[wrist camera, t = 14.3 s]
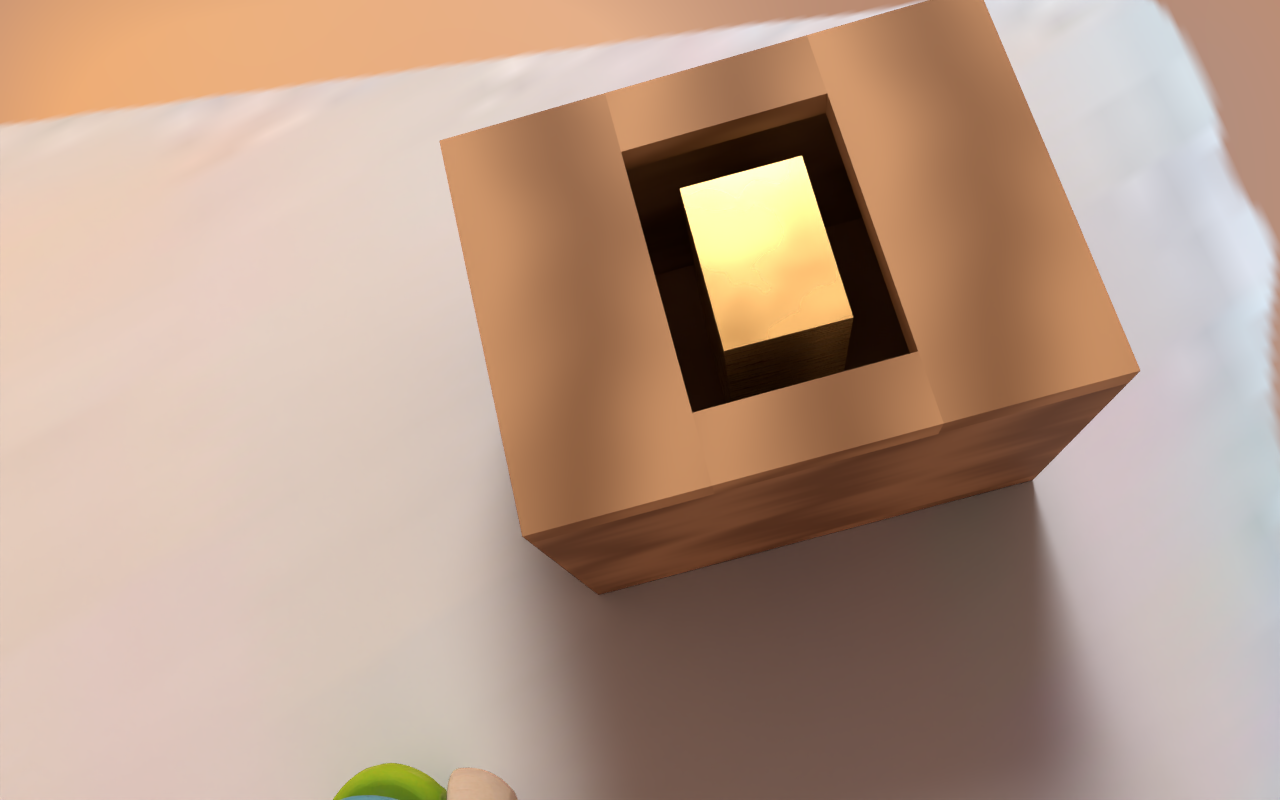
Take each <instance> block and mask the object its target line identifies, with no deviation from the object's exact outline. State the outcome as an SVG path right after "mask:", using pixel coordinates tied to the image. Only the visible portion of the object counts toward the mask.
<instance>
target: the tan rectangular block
mask: <svg viewBox="0 0 1280 800" xmlns="http://www.w3.org/2000/svg"><path fill="white" fill-rule="evenodd" d="M680 192H681V198H682V203H683V209H684V214H685V219H686V225H687V230H688V236H689V241H690V246H691V252H692V257H693V262H694V268H695V273H696V279H697V284H698V289H699V295H700V300H701V306H702V311H703V316H704V322H705V327H706V332H707V335H708V339H709V343H710V347H711V350H712V354H713V358H714V361H715V365H716V369H717V373H718V376H719V380H720V384H721V388H722V391H723V395H724V399H725V402H726V403H730V402H734V401H737V400H741V399H745V398H748V397H752V396H756V395H759V394H763V393H767V392H770V391H774V390H778V389H781V388H785V387H789V386H792V385H796V384H800V383H803V382H807V381H811V380H814V379H818V378H822V377H825V376H829V375H833V374H836V373H840V372H844V368H845V363H846V357H847V351H848V345H849V339H850V334H851V328H852V322H853V315H852V312H851V309H850V305H849V302H848V299H847V296H846V293H845V290H844V287H843V283H842V280H841V277H840V274H839V271H838V268H837V265H836V261H835V258H834V255H833V252H832V249H831V246H830V243H829V239H828V236H827V233H826V230H825V227H824V224H823V221H822V217H821V214H820V211H819V208H818V205H817V202H816V199H815V195H814V192H813V189H812V186H811V183H810V180H809V177H808V173H807V170H806V167H805V164H804V161H803V158H802V156H799V157H796V158H792V159H788V160H784V161H781V162H777V163H773V164H770V165H766V166H762V167H758V168H755V169H751V170H747V171H743V172H740V173H736V174H732V175H728V176H725V177H721V178H717V179H714V180H710V181H706V182H702V183H699V184H695V185H691V186H687V187H684V188H680Z"/></svg>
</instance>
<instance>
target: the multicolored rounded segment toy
mask: <svg viewBox="0 0 1280 800" xmlns="http://www.w3.org/2000/svg"><path fill="white" fill-rule="evenodd" d="M333 800H518V799H517V796H516V794H515V792H514V791H513V790H512V788H511V787H510V786H509V785H508V784H507V783H506V782H504V781H503V780H502V779H501V778H499V777H498V776H496V775H494V774H492V773H490V772H488V771H485V770H482V769H476V768H459V769H456V770H454V771H453V772H452V774H451V776H450V779H449V782H448V788H447V791H446V789H444V788H443V787H442V786H440V785H439V784H438V783H437V782H436V781H435V780H434V779H432V778H431V777H430V776H428V775H427V774H425V773H423V772H421V771H419V770H417V769H415V768H412V767H410V766H406V765H402V764H397V763H387V764H381V765H377V766H373V767H370V768H367V769H365V770H363V771H361V772H359V773H358V774H356V775H355V776H354V777H353V778H352V779H350V780H349V781H348V782H347V783H346V784H345V785H344V786H343V787H342V788H341V789H340V791H339V792H338V793H337V795H336V796H335V797H334V799H333Z"/></svg>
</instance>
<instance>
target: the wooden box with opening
mask: <svg viewBox="0 0 1280 800" xmlns="http://www.w3.org/2000/svg"><path fill="white" fill-rule="evenodd" d="M440 146H441V150H442V155H443V160H444V165H445V169H446V174H447V179H448V184H449V189H450V193H451V198H452V203H453V208H454V212H455V217H456V222H457V227H458V231H459V236H460V241H461V246H462V251H463V255H464V260H465V265H466V270H467V274H468V279H469V284H470V289H471V293H472V298H473V303H474V308H475V313H476V317H477V322H478V327H479V332H480V336H481V341H482V346H483V351H484V355H485V360H486V365H487V370H488V375H489V379H490V384H491V389H492V394H493V398H494V403H495V408H496V413H497V417H498V422H499V427H500V432H501V437H502V441H503V446H504V451H505V456H506V460H507V465H508V470H509V475H510V479H511V484H512V489H513V494H514V499H515V503H516V508H517V513H518V518H519V522H520V527H521V532H522V537H524V538H525V539H526V540H528V541H529V542H530V543H531V544H533V545H534V546H535V547H537V548H538V549H539V550H541V551H542V552H543V553H545V554H546V555H547V556H548V557H550V558H551V559H552V560H554V561H555V562H556V563H558V564H559V565H560V566H561V567H563V568H564V569H565V570H567V571H568V572H569V573H571V574H572V575H573V576H574V577H576V578H577V579H578V580H580V581H581V582H582V583H584V584H585V585H586V586H587V587H589V588H590V589H591V590H593V591H594V592H595V593H597V594H598V595H600V594H604V593H608V592H612V591H615V590H619V589H623V588H627V587H631V586H634V585H638V584H642V583H646V582H649V581H653V580H657V579H661V578H665V577H668V576H672V575H676V574H680V573H683V572H687V571H691V570H695V569H698V568H702V567H706V566H710V565H714V564H717V563H721V562H725V561H729V560H732V559H736V558H740V557H744V556H747V555H751V554H755V553H759V552H763V551H766V550H770V549H774V548H778V547H781V546H785V545H789V544H793V543H797V542H800V541H804V540H808V539H812V538H815V537H819V536H823V535H827V534H830V533H834V532H838V531H842V530H846V529H849V528H853V527H857V526H861V525H864V524H868V523H872V522H876V521H879V520H883V519H887V518H891V517H895V516H898V515H902V514H906V513H910V512H913V511H917V510H921V509H925V508H929V507H932V506H936V505H940V504H944V503H947V502H951V501H955V500H959V499H962V498H966V497H970V496H974V495H978V494H981V493H985V492H989V491H993V490H996V489H1000V488H1004V487H1008V486H1011V485H1015V484H1019V483H1023V482H1027V481H1030V480H1033V479H1034V478H1035V477H1036V476H1037V475H1038V474H1039V473H1040V472H1041V471H1042V470H1043V469H1044V468H1045V467H1046V466H1047V465H1048V464H1049V463H1050V462H1051V461H1052V460H1053V459H1054V458H1055V457H1056V456H1057V455H1058V454H1059V453H1060V452H1061V451H1062V450H1063V449H1064V448H1065V447H1066V446H1067V445H1068V444H1069V443H1070V442H1071V441H1072V440H1073V439H1074V438H1075V437H1076V436H1077V435H1078V433H1079V432H1080V431H1081V430H1082V429H1083V428H1084V427H1085V426H1086V425H1087V424H1088V423H1089V422H1090V421H1091V420H1092V419H1093V418H1094V417H1095V416H1096V415H1097V414H1098V413H1099V412H1100V411H1101V410H1102V409H1103V408H1104V407H1105V406H1106V405H1107V404H1108V403H1109V402H1110V401H1111V400H1112V399H1113V398H1114V397H1115V396H1116V395H1117V394H1118V393H1119V392H1120V391H1121V390H1122V389H1123V388H1124V387H1125V386H1126V385H1127V384H1128V383H1129V382H1130V381H1131V380H1132V379H1133V378H1134V377H1135V376H1136V375H1137V374H1138V373H1139V372H1140V368H1139V366H1138V364H1137V361H1136V359H1135V357H1134V354H1133V352H1132V350H1131V347H1130V345H1129V342H1128V340H1127V338H1126V335H1125V333H1124V331H1123V328H1122V326H1121V324H1120V321H1119V319H1118V316H1117V314H1116V312H1115V309H1114V307H1113V305H1112V302H1111V300H1110V298H1109V295H1108V293H1107V291H1106V288H1105V286H1104V283H1103V281H1102V279H1101V276H1100V274H1099V272H1098V269H1097V267H1096V265H1095V262H1094V260H1093V257H1092V255H1091V253H1090V250H1089V248H1088V246H1087V243H1086V241H1085V239H1084V236H1083V234H1082V231H1081V229H1080V227H1079V224H1078V222H1077V220H1076V217H1075V215H1074V213H1073V210H1072V208H1071V205H1070V203H1069V201H1068V198H1067V196H1066V194H1065V191H1064V189H1063V187H1062V184H1061V182H1060V179H1059V177H1058V175H1057V172H1056V170H1055V168H1054V165H1053V163H1052V161H1051V158H1050V156H1049V153H1048V151H1047V149H1046V146H1045V144H1044V142H1043V139H1042V137H1041V135H1040V132H1039V130H1038V127H1037V125H1036V123H1035V120H1034V118H1033V116H1032V113H1031V111H1030V109H1029V106H1028V104H1027V101H1026V99H1025V97H1024V94H1023V92H1022V90H1021V87H1020V85H1019V83H1018V80H1017V78H1016V75H1015V73H1014V71H1013V68H1012V66H1011V64H1010V61H1009V59H1008V57H1007V54H1006V52H1005V49H1004V47H1003V45H1002V42H1001V40H1000V38H999V35H998V33H997V31H996V28H995V26H994V23H993V21H992V19H991V16H990V14H989V12H988V9H987V7H986V5H985V2H984V0H928V1H925V2H921V3H918V4H914V5H911V6H908V7H904V8H901V9H897V10H894V11H890V12H887V13H883V14H880V15H876V16H873V17H869V18H866V19H862V20H859V21H855V22H852V23H848V24H845V25H841V26H838V27H834V28H831V29H827V30H824V31H820V32H817V33H813V34H810V35H806V36H803V37H799V38H796V39H792V40H789V41H785V42H782V43H779V44H775V45H772V46H768V47H765V48H761V49H758V50H754V51H751V52H747V53H744V54H740V55H737V56H733V57H730V58H726V59H723V60H719V61H716V62H712V63H709V64H705V65H702V66H698V67H695V68H691V69H688V70H684V71H681V72H677V73H674V74H670V75H667V76H663V77H660V78H656V79H653V80H650V81H646V82H643V83H639V84H636V85H632V86H629V87H625V88H622V89H618V90H615V91H611V92H608V93H604V94H601V95H597V96H594V97H590V98H587V99H583V100H580V101H576V102H573V103H569V104H566V105H562V106H559V107H555V108H552V109H548V110H545V111H541V112H538V113H534V114H531V115H527V116H524V117H521V118H517V119H514V120H510V121H507V122H503V123H500V124H496V125H493V126H489V127H486V128H482V129H479V130H475V131H472V132H468V133H465V134H461V135H458V136H454V137H451V138H447V139H444V140H440ZM799 156H802V158H803V161H804V164H805V167H806V170H807V173H808V177H809V180H810V183H811V186H812V189H813V192H814V195H815V199H816V202H817V205H818V208H819V211H820V214H821V217H822V221H823V224H824V227H825V230H826V233H827V236H828V239H829V243H830V246H831V249H832V252H833V255H834V258H835V261H836V265H837V268H838V271H839V274H840V277H841V280H842V283H843V287H844V290H845V293H846V296H847V299H848V302H849V305H850V309H851V312H852V315H853V322H852V328H851V334H850V339H849V345H848V351H847V357H846V363H845V368H844V372H840V373H836V374H833V375H829V376H825V377H822V378H818V379H814V380H811V381H807V382H803V383H800V384H796V385H792V386H789V387H785V388H781V389H778V390H774V391H770V392H767V393H763V394H759V395H756V396H752V397H748V398H745V399H741V400H737V401H734V402H730V403H726V402H725V399H724V395H723V391H722V388H721V384H720V380H719V376H718V373H717V369H716V365H715V361H714V358H713V354H712V350H711V347H710V343H709V339H708V335H707V332H706V327H705V322H704V316H703V311H702V306H701V300H700V295H699V289H698V284H697V279H696V273H695V268H694V262H693V257H692V252H691V246H690V241H689V236H688V230H687V225H686V219H685V214H684V209H683V203H682V198H681V192H680V188H684V187H687V186H691V185H695V184H699V183H702V182H706V181H710V180H714V179H717V178H721V177H725V176H728V175H732V174H736V173H740V172H743V171H747V170H751V169H755V168H758V167H762V166H766V165H770V164H773V163H777V162H781V161H784V160H788V159H792V158H796V157H799Z"/></svg>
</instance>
